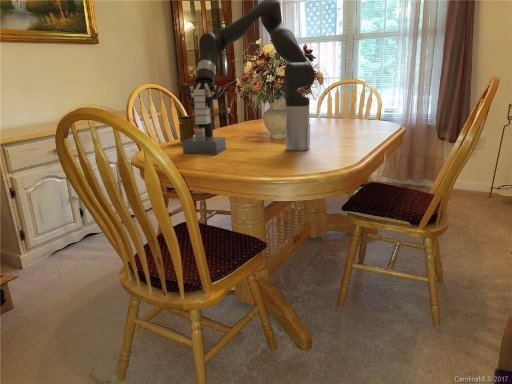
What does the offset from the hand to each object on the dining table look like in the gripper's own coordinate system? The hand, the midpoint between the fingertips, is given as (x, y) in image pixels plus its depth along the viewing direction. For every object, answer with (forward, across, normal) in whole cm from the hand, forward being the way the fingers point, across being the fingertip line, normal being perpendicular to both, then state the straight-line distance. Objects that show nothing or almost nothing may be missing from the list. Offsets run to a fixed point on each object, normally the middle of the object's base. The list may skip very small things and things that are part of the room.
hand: (201, 106), depth 159 cm
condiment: (-3, +12, -29) cm, 32 cm away
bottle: (-7, +6, -33) cm, 34 cm away
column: (+3, 0, -6) cm, 7 cm away
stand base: (+11, 0, -14) cm, 18 cm away
